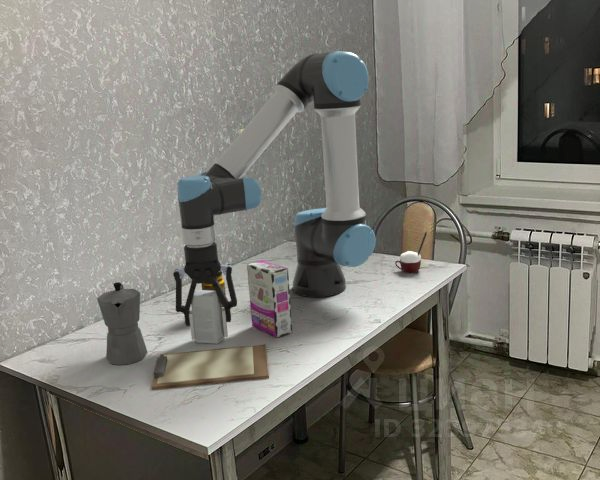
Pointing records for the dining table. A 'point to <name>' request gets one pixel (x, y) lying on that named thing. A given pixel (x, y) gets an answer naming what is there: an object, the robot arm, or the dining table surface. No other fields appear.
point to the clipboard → (210, 366)
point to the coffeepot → (122, 325)
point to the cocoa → (411, 260)
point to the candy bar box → (270, 298)
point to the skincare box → (207, 317)
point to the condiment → (209, 287)
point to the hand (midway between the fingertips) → (209, 335)
